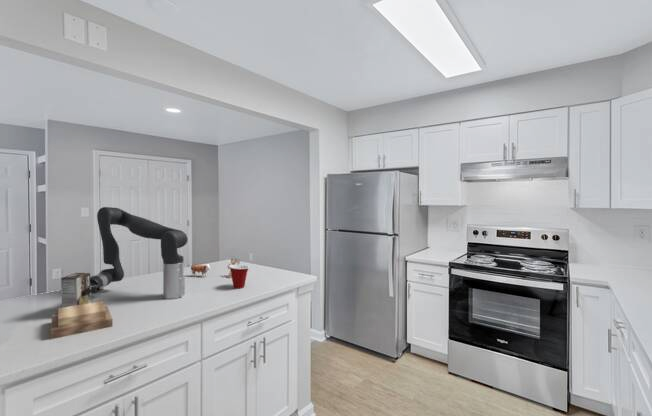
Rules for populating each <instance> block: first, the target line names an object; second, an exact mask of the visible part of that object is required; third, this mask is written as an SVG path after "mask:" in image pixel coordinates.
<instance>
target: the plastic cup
mask: <svg viewBox="0 0 652 416" xmlns="http://www.w3.org/2000/svg"><path fill="white" fill-rule="evenodd" d="M229 267H230V268H229V271H231V274H230V275H232V278H231V281H232V286H233V288H234V289H243V288H245V285H246V280H247V274H248V271H249V269H250V266H248V265H243V264H238V265H237V264H235V265H232V264H230V265H229Z"/></svg>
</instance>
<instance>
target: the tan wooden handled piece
mask: <svg viewBox="0 0 652 416" xmlns="http://www.w3.org/2000/svg"><path fill="white" fill-rule="evenodd" d="M231 265H240V259H237V258H236V257H231V259H230V263H229V264H228V265H227V269H228V270H229V272H228V275H225V278H227V279H232V275H231V270H230V267H229V266H231Z"/></svg>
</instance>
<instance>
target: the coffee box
mask: <svg viewBox="0 0 652 416" xmlns="http://www.w3.org/2000/svg"><path fill="white" fill-rule="evenodd" d="M90 277H91V272H75V273H71V274H70V275H67V276H63V277H61V278H60V279H61V280H60V281H61V283H60V284H61V286H60V287H61V289H60V291H61V308H63V307H70V306H76V305H82V304H88V303H92V294H87V295H85V296H82V291H83V290H85V289H88V288H89V287H90Z"/></svg>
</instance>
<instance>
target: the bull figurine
mask: <svg viewBox="0 0 652 416" xmlns="http://www.w3.org/2000/svg"><path fill="white" fill-rule="evenodd" d="M190 270H191V274H192V275H193V276H194V277H195V278H197V275H196V272H197V273H198V274H200V273H201V277H202V278H204V276H205V277H208V275H207V272H208V270H211V264H209V263H208V264H198V265H197V264H192V265H191V267H190ZM204 274H205V275H204Z"/></svg>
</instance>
